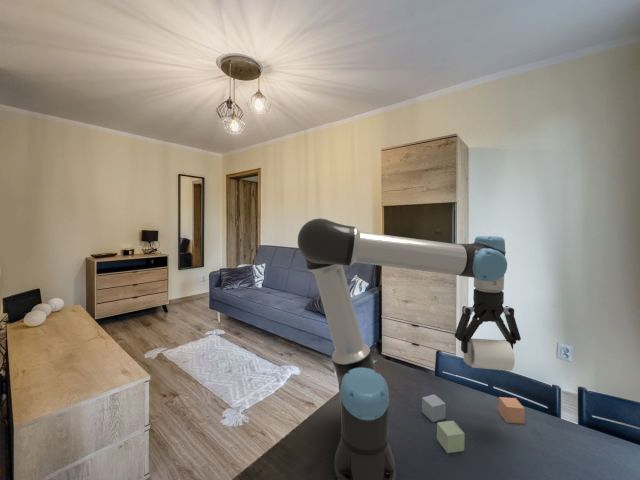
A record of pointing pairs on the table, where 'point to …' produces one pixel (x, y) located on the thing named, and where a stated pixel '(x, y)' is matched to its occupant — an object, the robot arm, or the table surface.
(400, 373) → the table surface
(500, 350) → the mug
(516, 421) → the terracotta block
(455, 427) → the sage block
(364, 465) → the robot arm
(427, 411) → the slate block
